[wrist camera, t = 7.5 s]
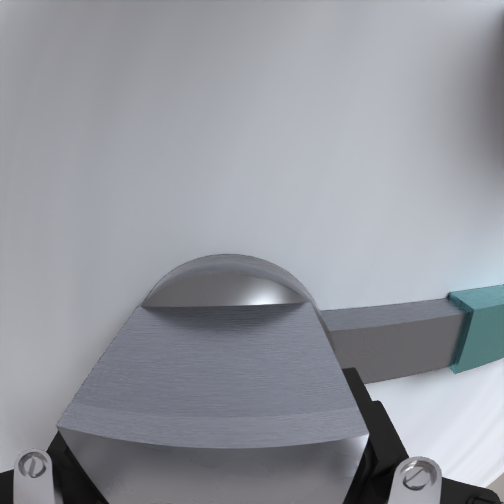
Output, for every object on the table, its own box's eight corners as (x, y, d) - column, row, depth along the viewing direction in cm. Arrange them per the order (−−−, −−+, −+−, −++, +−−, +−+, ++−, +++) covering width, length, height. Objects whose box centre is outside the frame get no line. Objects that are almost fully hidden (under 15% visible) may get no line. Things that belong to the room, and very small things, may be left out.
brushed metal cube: (137, 306, 10) (55, 425, 4) (310, 301, 10) (369, 434, 4) (166, 424, 12) (138, 535, 6) (301, 423, 12) (324, 539, 6)
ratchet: (126, 256, 12) (50, 319, 6) (554, 242, 12) (613, 267, 7) (158, 406, 14) (130, 492, 9) (525, 351, 15) (570, 390, 9)
